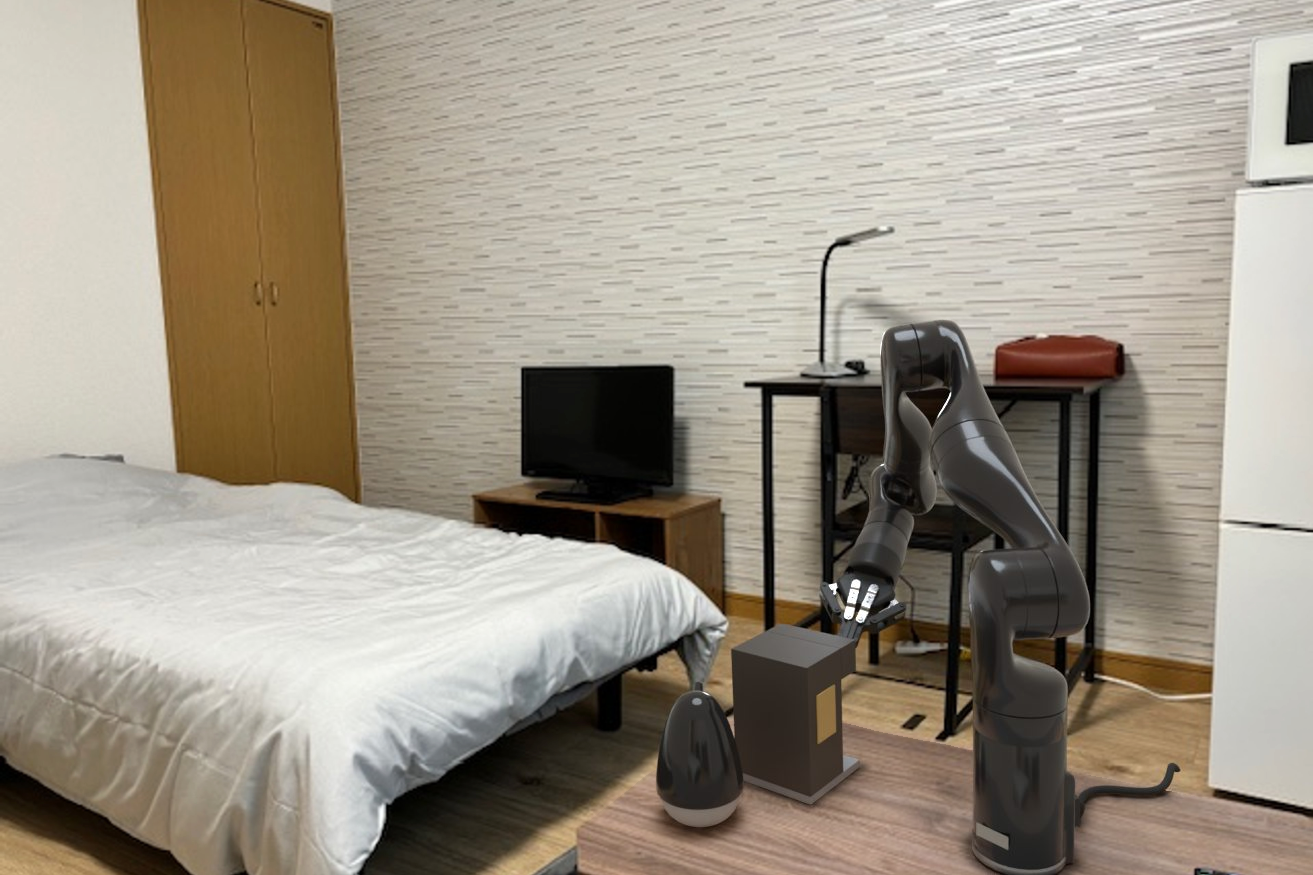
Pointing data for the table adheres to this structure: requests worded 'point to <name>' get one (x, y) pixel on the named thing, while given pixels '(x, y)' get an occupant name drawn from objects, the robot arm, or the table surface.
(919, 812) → the table surface
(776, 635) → the box
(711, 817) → the pump dispenser
